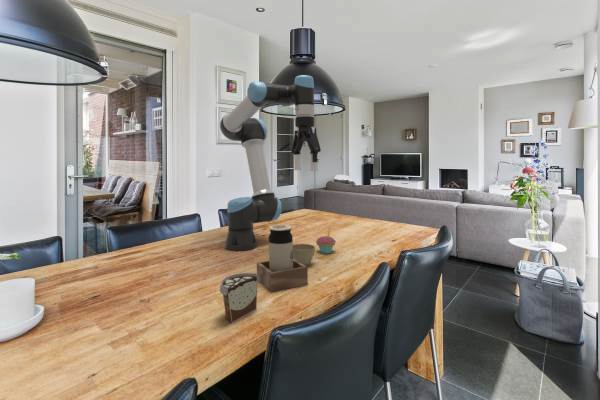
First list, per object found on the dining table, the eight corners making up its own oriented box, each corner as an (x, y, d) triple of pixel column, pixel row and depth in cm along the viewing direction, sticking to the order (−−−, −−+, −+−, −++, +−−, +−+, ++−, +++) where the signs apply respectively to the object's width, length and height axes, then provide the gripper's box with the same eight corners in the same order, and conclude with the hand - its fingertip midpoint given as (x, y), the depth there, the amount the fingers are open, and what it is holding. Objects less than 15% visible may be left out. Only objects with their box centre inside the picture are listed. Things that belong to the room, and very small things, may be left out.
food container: (244, 302, 97) (243, 269, 95) (260, 307, 93) (259, 273, 92) (211, 319, 86) (209, 282, 85) (227, 326, 83) (225, 287, 82)
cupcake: (337, 250, 150) (337, 224, 148) (332, 255, 142) (332, 228, 140) (319, 248, 153) (318, 223, 151) (313, 253, 145) (313, 227, 143)
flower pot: (313, 269, 125) (312, 250, 124) (287, 267, 127) (287, 249, 126) (317, 261, 134) (316, 244, 134) (293, 259, 136) (292, 243, 136)
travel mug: (265, 281, 110) (264, 228, 108) (276, 273, 117) (274, 223, 115) (287, 284, 107) (286, 230, 105) (296, 276, 114) (296, 225, 112)
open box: (257, 279, 115) (256, 262, 114) (290, 272, 121) (290, 256, 120) (271, 292, 104) (271, 273, 103) (307, 284, 110) (307, 267, 109)
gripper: (283, 119, 140) (284, 170, 143) (312, 112, 118) (312, 171, 121) (298, 120, 144) (299, 169, 146) (329, 113, 122) (329, 171, 124)
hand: (305, 170), depth 134 cm, fingers open, 13 cm apart
